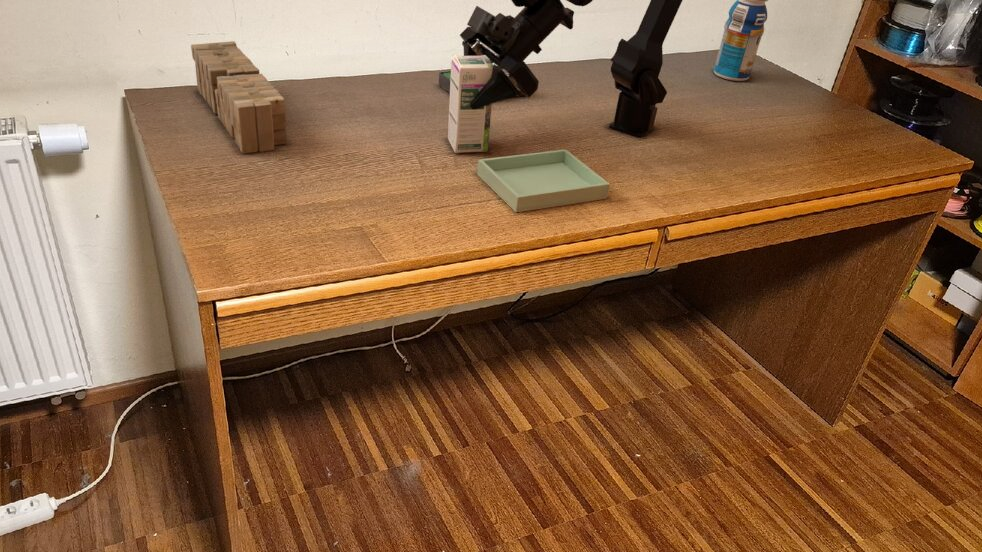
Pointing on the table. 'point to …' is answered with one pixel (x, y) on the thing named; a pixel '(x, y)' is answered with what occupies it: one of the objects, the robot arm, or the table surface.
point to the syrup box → (468, 104)
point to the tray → (542, 180)
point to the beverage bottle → (741, 39)
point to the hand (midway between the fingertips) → (460, 98)
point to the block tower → (240, 96)
